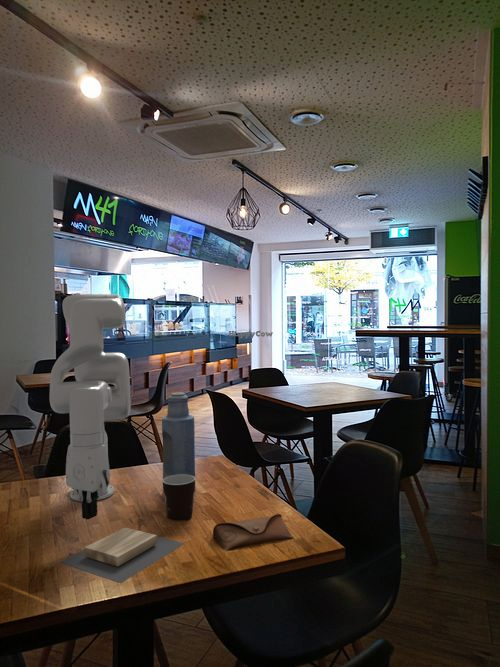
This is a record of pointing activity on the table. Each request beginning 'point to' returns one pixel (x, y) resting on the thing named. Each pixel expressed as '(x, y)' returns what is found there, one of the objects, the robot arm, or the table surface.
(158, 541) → the mat
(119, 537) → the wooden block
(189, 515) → the coffee mug
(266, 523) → the sunglasses case
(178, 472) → the bottle
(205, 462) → the table surface
